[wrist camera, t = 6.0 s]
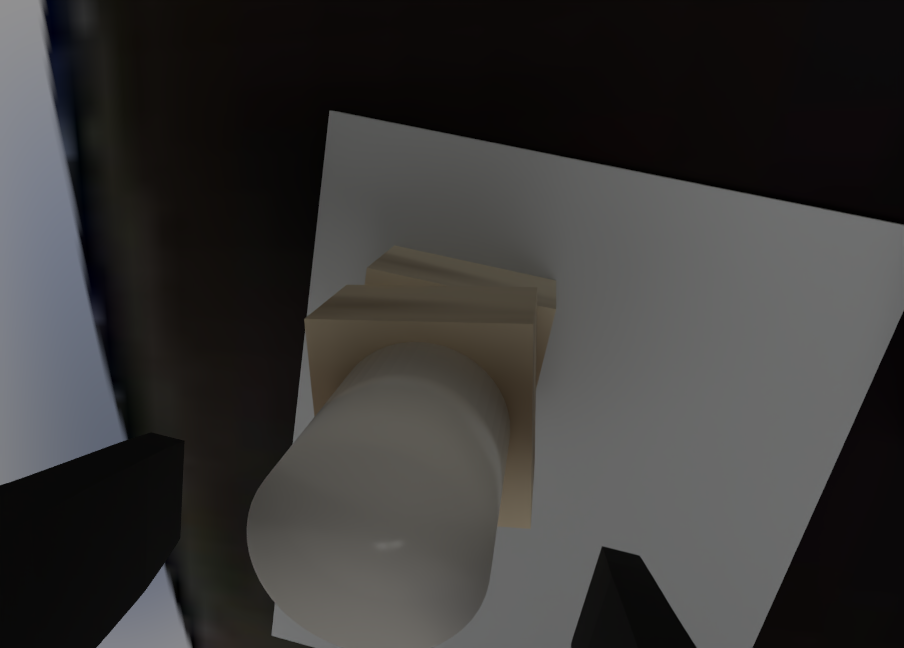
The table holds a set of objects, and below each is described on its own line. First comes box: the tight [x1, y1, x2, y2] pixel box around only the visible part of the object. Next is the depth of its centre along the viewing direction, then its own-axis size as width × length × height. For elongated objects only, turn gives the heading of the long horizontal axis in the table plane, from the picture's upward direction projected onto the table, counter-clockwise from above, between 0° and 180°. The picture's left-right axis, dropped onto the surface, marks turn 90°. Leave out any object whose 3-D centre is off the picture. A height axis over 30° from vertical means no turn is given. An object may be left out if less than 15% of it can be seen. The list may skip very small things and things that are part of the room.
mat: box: [272, 111, 904, 648], centre depth 21 cm, size 20×17×1 cm
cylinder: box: [247, 342, 510, 648], centre depth 12 cm, size 4×4×4 cm
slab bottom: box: [365, 245, 556, 388], centre depth 19 cm, size 5×5×3 cm
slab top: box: [304, 285, 537, 529], centre depth 16 cm, size 5×5×3 cm
